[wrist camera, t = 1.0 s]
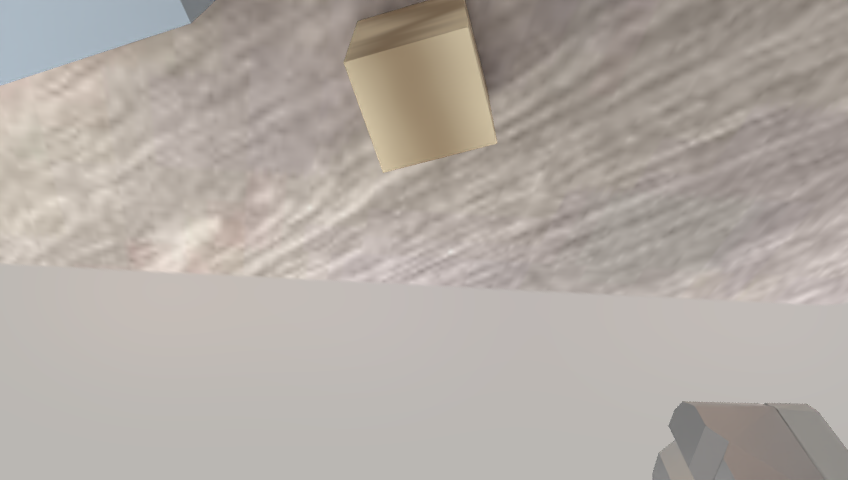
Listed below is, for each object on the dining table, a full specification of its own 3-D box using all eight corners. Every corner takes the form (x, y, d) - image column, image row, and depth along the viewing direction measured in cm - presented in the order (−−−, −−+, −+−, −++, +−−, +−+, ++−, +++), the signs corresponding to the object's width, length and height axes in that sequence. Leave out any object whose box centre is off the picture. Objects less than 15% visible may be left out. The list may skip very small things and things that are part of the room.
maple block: (462, -10, 32) (467, 26, 26) (488, 91, 34) (497, 143, 29) (357, 20, 32) (343, 62, 27) (390, 118, 35) (383, 172, 30)
